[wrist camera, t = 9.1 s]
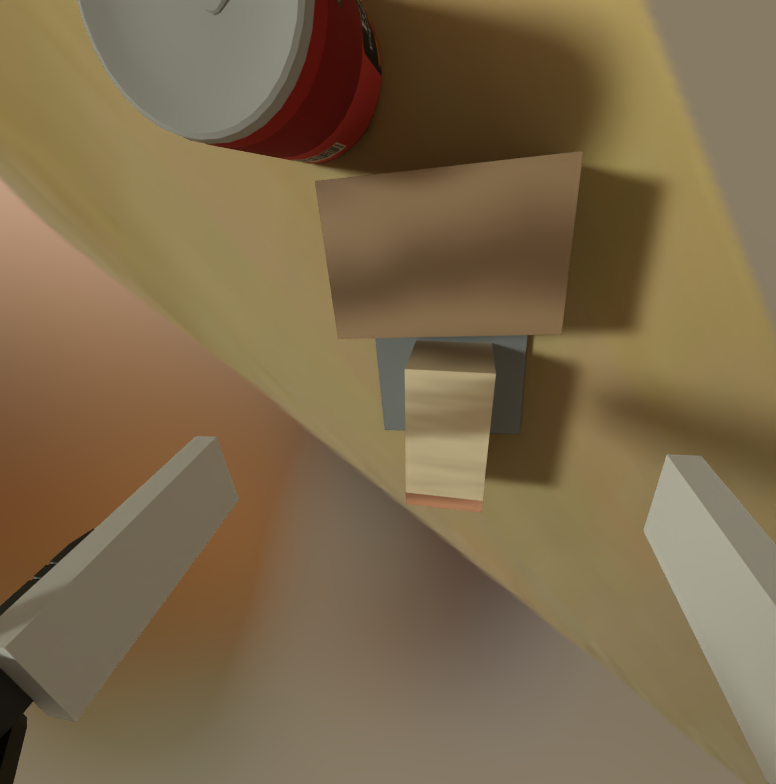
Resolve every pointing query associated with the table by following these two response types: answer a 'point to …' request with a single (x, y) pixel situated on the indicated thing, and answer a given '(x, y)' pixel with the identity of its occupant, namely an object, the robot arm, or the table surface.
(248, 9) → the canned food
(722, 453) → the table surface
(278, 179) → the table surface
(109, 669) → the robot arm
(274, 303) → the table surface
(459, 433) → the block
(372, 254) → the step
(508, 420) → the mat
